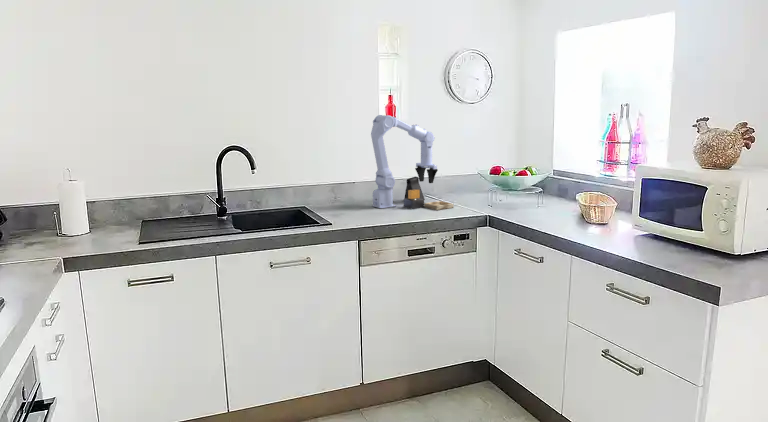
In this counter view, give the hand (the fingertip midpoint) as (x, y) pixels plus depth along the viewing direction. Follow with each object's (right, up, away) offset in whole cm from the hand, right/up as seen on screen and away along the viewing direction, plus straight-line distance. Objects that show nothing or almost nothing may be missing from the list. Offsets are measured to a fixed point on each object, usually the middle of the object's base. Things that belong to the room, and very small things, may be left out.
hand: (426, 182), depth 290 cm
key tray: (+5, -13, -14) cm, 19 cm away
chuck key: (-7, -13, -12) cm, 19 cm away
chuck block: (-7, -13, -12) cm, 19 cm away
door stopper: (-6, -9, +5) cm, 12 cm away
